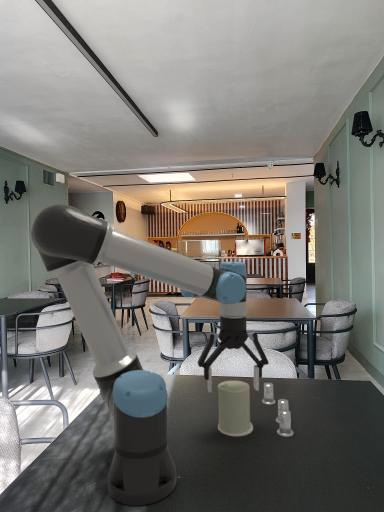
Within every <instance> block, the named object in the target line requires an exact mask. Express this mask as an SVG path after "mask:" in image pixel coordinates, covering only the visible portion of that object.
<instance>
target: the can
mask: <svg viewBox="0 0 384 512" xmlns="http://www.w3.org/2000/svg"><path fill="white" fill-rule="evenodd" d="M250 388H251V386H250V384H249V383H247V382H245V381H241V380H226V381H222V382H220V383H218V385H217V393H218V395H217V396H218V424H219V428H220V429H221V430H223V431H225V432H228V433H235V434H236V433H243V432H246V431H248V430H249V429H250V427H251V424H250V422H251V412H250V411H251V403H250V400H251V399H250V392H251V391H250Z"/></svg>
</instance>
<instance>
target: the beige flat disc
mask: <svg viewBox="0 0 384 512" xmlns="http://www.w3.org/2000/svg"><path fill="white" fill-rule="evenodd" d="M250 424H251V427H250V429H249V430H248V431H246V432H243V433H236V434H235V433H228V432H225V431H223V430H221V429H220V428H219V423H218V424H217V430H218V431H219V432H220V433H221V434H223V435H226V436H230V437H236V438H237V437H244V436H248V435H249V434H251V433H252V432H253V431H254V425H253V423H252V422H251V421H250Z"/></svg>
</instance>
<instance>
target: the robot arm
mask: <svg viewBox="0 0 384 512" xmlns="http://www.w3.org/2000/svg"><path fill="white" fill-rule="evenodd" d="M30 231H31V232H30V234H31V236H30V237H31V240H32V243H33V245H34V247H35V249H37V251H38V254H39V256H40V258H41V261H42V263H43V265H44V267H45V270H46V272H47V273H48V274H49V275H50V274H51V275H53V276H54V277H55V276H56V278H57V280H58V282H59V285H60V286H61V289H62V291H63V294H64V296H65V299H66V300H67V303H68V305H69V307H70V309H71V311H72V314H73V316H74V319H75V321H76V323H77V325H78V327H79V329H80V332H81V335H82V336H83V339H84V340H85V341H84V342H85V343H86V346H87V348H88V350H89V352H90V355H91V358H92V359H93V361H94V363H95V365H94V368H93V370H92V376H93V378H94V380H95V382H96V385H97V387H98V389H99V394H100V396H101V398H102V400H103V401H104V403H105V405H106V406H107V409H108V411H109V412H110V414H111V416H112V418H113V423H114V424H113V429H114V454H113V457H112V460H111V464H110V467H109V470H108V475H107V492H108V494H109V496H110V497H111V498H112V500H114V501H116V502H118V503H120V504H123V505H127V506H145V505H146V504H147V505H151V504H154V503H157V502H160V501H161V500H164V499H165V498H167V497H168V496H169V495H170V494H171V493H172V492H173V491H174V489H175V488H176V485H177V469H176V466H175V465H176V464H175V463H174V459H173V457H172V454H171V452H170V448H169V444H168V443H169V442H168V439H169V437H168V434H169V433H168V390H167V384H166V381H165V379H164V378H163V377H162V376H161V375H160V374H158V373H157V372H154V371H152V372H150V370H146V369H145V370H144V367H143V366H142V364H141V361H140V358H139V357H138V354H137V352H136V351H135V350H132V349H129V348H128V346H127V344H126V341H125V339H124V337H123V334H122V332H121V329H120V327H119V325H118V322H117V320H116V318H115V316H114V315H115V314H114V313H113V310H112V308H111V306H110V303H109V301H108V298H107V296H106V294H105V291H104V290H103V287H102V284H101V282H100V279H99V277H98V275H97V272H96V270H95V267H94V265H96V264H99V263H102V264H104V265H108V266H111V267H114V268H116V269H118V270H119V269H120V270H123V271H126V272H129V273H132V274H133V275H134V274H135V275H138V276H141V277H144V278H146V279H149V280H153V281H156V282H158V283H162V284H165V285H167V286H171V287H174V288H177V289H179V291H180V294H181V296H183V297H185V298H193V299H194V298H203V299H207V300H209V301H210V300H212V301H214V302H218V303H219V314H220V315H221V316H220V317H219V332H218V333H213V332H212V331H211V332H209V333H208V339H207V341H206V344H205V345H204V348H203V350H202V351H201V354H200V356H199V358H198V360H197V365H198V367H199V368H203V379H204V380H206V381H207V391H208V393H212V392H213V389H212V381H213V378H212V373H213V372H212V371H213V369H212V368H211V366H212V365H213V364H214V363H215V361H216V360H217V358H218V357H219V356H220V355H221V354H222V352H224V351H225V350H226V349H228V350H232V349H235V350H239V349H241V348H242V349H243V350H244V351H245V352H246V353H247V354H248V356H249V357H250V358H251V360H252V361H254V363H255V364H253V388H254V390H255V391H259V390H260V388H259V387H260V379H261V378H262V377H263V368H264V366H268V365H269V362H270V361H269V359H268V357H267V356H266V353H265V352H264V350H263V348H262V347H263V346H262V345H261V344H260V341H259V335H258V333H257V332H255V331H254V330H252V331H251V332H247V317H246V315H247V283H248V282H247V279H248V276H247V275H248V274H247V265H246V263H245V262H243V261H221V262H220V265H219V268H217V267H216V266H215V267H214V266H211V265H210V264H206V263H204V262H201V261H198V260H196V259H194V258H190V257H188V256H185V255H182V254H180V253H177V252H175V251H173V250H170V249H167V248H164V247H161V246H159V245H156V244H154V243H151V242H148V241H145V240H142V239H140V238H138V237H135V236H133V235H132V236H131V235H130V234H127V233H124V232H121V231H118V230H116V229H113V228H112V226H111V224H110V223H109V222H108V221H105V220H104V219H100V218H98V217H96V216H94V215H92V214H89V213H87V212H85V211H83V210H80V209H78V208H77V207H75V206H71V205H68V204H64V203H63V204H62V203H58V204H53V205H50V206H47V207H45V208H43V209H42V210H41V211H40V212H39V213H38V214H37V215H36V217H35V218H34V220H33V224H32V226H31V230H30ZM248 338H249V339H250V341H252V342H253V345H254V347H255V350H256V351H257V353H258V355H259V357H260V359H261V360H260V359H259V358H258V357H257V356H256V355H255V353H254V352H253V351H252V350H251V349H250V348H249V346H248V345H247V344H246V343H245V342H246V341H247V340H248ZM217 339H218V340H220V342H219V343H218V344H217V347H216V348H215V349H214V350H213V352H212V353H211V354H210V352H211V349H212V347H213V345H214V343H215V342H216V341H217ZM209 354H210V355H209ZM208 355H209V356H208ZM207 357H208V358H207Z"/></svg>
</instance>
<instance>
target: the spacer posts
mask: <svg viewBox="0 0 384 512" xmlns="http://www.w3.org/2000/svg"><path fill="white" fill-rule="evenodd" d="M261 402H262V403H263V404H264V405H271V406H272V405H275V404H276V400H275V398H274V384H273V383H272V382H264V383H263V398H262V400H261ZM291 414H292V413H291V411H290V410H289V400H288V399H285V398H279V399H278V400H277V417H276V418H275V422H276V423H277V424H279V428H278V429H277V430H276V432H277V435H278V436H281V437H284V438H290V437H292V436H293V435H294V430H292V427H291V426H292V417H291Z"/></svg>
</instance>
